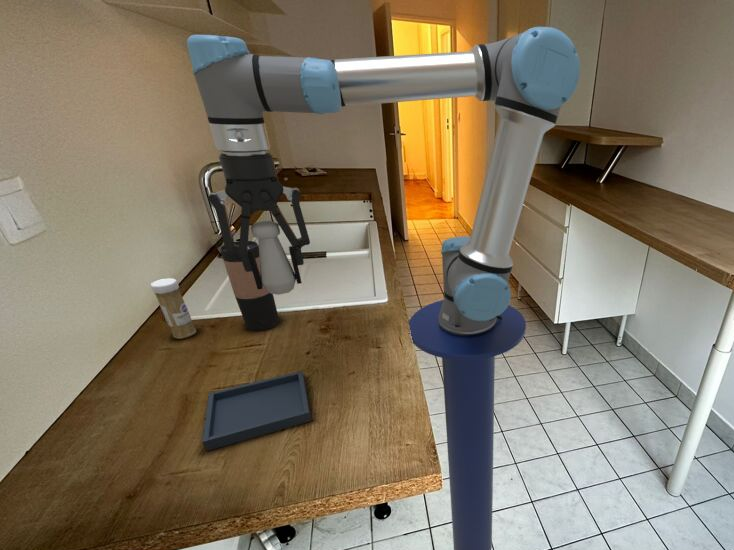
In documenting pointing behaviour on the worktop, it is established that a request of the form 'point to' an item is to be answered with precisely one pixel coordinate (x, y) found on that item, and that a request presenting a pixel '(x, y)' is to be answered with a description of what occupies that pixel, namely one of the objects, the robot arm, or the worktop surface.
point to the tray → (255, 410)
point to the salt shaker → (273, 259)
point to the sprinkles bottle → (173, 307)
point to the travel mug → (250, 291)
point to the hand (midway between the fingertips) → (279, 283)
